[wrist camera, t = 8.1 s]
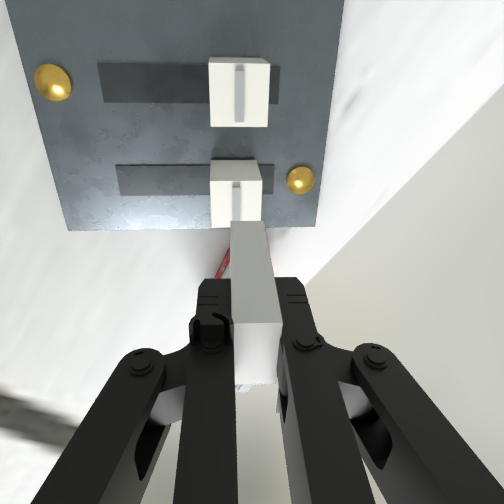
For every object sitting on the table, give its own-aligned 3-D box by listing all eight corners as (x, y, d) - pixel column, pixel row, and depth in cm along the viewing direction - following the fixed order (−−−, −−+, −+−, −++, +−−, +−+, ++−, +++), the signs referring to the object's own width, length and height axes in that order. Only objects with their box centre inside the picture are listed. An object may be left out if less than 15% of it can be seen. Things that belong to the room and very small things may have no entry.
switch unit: (74, 221, 37) (66, 232, 35) (-21, -150, 23) (-44, -166, 21) (310, 217, 39) (316, 228, 37) (352, -126, 25) (363, -140, 23)
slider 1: (211, 112, 30) (210, 128, 25) (209, 56, 28) (208, 63, 23) (260, 112, 30) (268, 128, 26) (262, 57, 28) (270, 64, 24)
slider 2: (212, 202, 34) (211, 230, 30) (210, 160, 32) (209, 183, 27) (254, 201, 34) (260, 229, 30) (256, 160, 32) (262, 182, 28)
